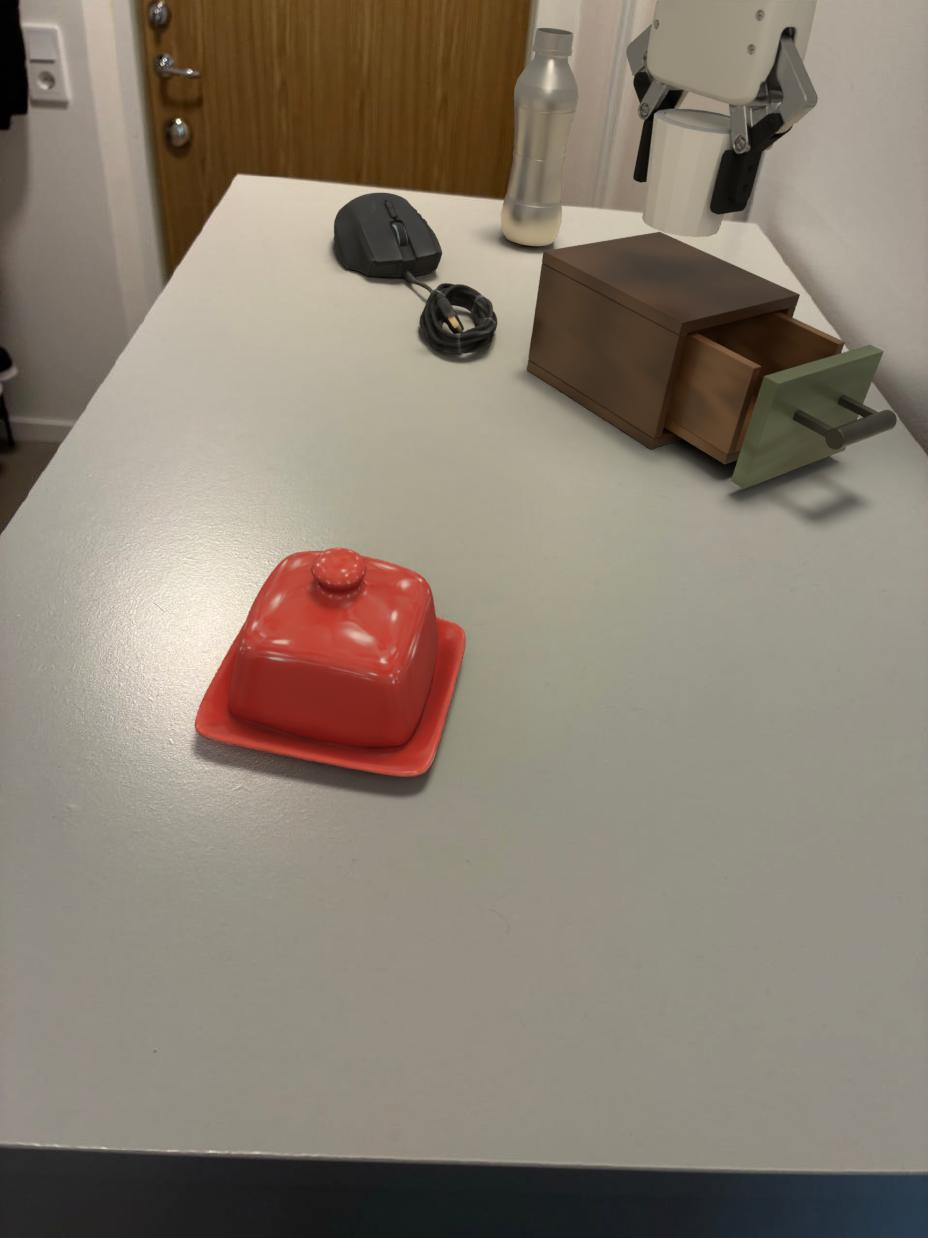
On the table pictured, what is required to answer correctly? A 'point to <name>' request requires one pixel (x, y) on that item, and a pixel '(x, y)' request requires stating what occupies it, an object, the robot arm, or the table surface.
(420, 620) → the butter dish
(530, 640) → the table surface
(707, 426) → the drawer
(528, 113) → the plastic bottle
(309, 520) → the table surface
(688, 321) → the cabinet
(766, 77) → the robot arm
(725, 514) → the table surface
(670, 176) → the white cup
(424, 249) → the computer mouse
